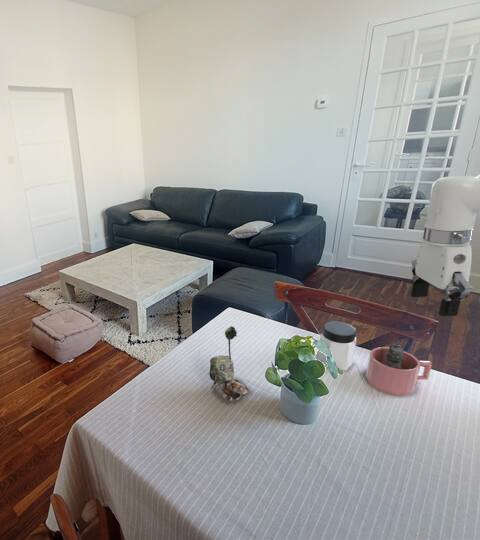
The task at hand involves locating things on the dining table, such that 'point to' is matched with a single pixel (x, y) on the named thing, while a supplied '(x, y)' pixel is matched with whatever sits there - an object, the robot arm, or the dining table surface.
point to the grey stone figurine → (394, 356)
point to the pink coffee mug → (395, 372)
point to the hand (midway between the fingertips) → (432, 305)
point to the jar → (339, 343)
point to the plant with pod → (226, 372)
